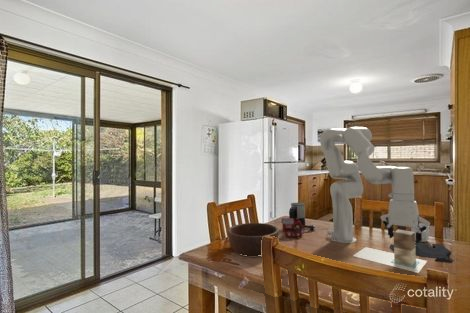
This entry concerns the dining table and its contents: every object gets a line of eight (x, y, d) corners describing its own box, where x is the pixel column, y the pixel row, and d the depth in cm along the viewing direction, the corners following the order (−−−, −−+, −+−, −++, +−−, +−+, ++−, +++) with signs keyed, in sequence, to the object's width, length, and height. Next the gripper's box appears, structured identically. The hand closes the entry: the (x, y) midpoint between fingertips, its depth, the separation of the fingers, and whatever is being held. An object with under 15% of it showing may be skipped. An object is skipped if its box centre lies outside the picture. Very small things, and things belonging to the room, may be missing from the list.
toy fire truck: (305, 238, 141) (304, 219, 141) (282, 238, 142) (282, 219, 142) (303, 234, 148) (302, 216, 148) (281, 234, 149) (280, 216, 149)
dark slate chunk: (386, 247, 125) (386, 237, 125) (439, 250, 119) (439, 240, 119) (397, 259, 110) (396, 248, 110) (458, 264, 104) (458, 252, 104)
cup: (435, 245, 124) (434, 229, 124) (415, 244, 127) (415, 228, 127) (426, 238, 134) (425, 223, 135) (408, 237, 137) (408, 222, 137)
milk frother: (292, 224, 171) (292, 202, 171) (317, 226, 165) (316, 203, 165) (288, 229, 158) (287, 205, 158) (314, 232, 152) (313, 207, 152)
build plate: (352, 258, 112) (352, 255, 112) (365, 249, 122) (365, 246, 122) (418, 275, 94) (418, 272, 94) (427, 263, 104) (427, 260, 104)
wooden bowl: (289, 249, 125) (288, 228, 125) (255, 264, 108) (254, 240, 108) (252, 238, 143) (251, 220, 143) (217, 250, 126) (217, 229, 126)
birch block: (394, 261, 104) (394, 247, 104) (398, 257, 108) (398, 243, 108) (412, 266, 100) (411, 250, 100) (415, 261, 104) (415, 246, 104)
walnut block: (393, 247, 104) (393, 232, 104) (398, 243, 108) (397, 229, 108) (411, 250, 100) (410, 235, 100) (415, 246, 104) (414, 232, 104)
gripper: (376, 196, 108) (377, 237, 108) (427, 200, 95) (428, 247, 95) (382, 194, 113) (383, 233, 113) (431, 198, 100) (432, 242, 100)
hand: (404, 239), depth 104 cm, fingers open, 9 cm apart
